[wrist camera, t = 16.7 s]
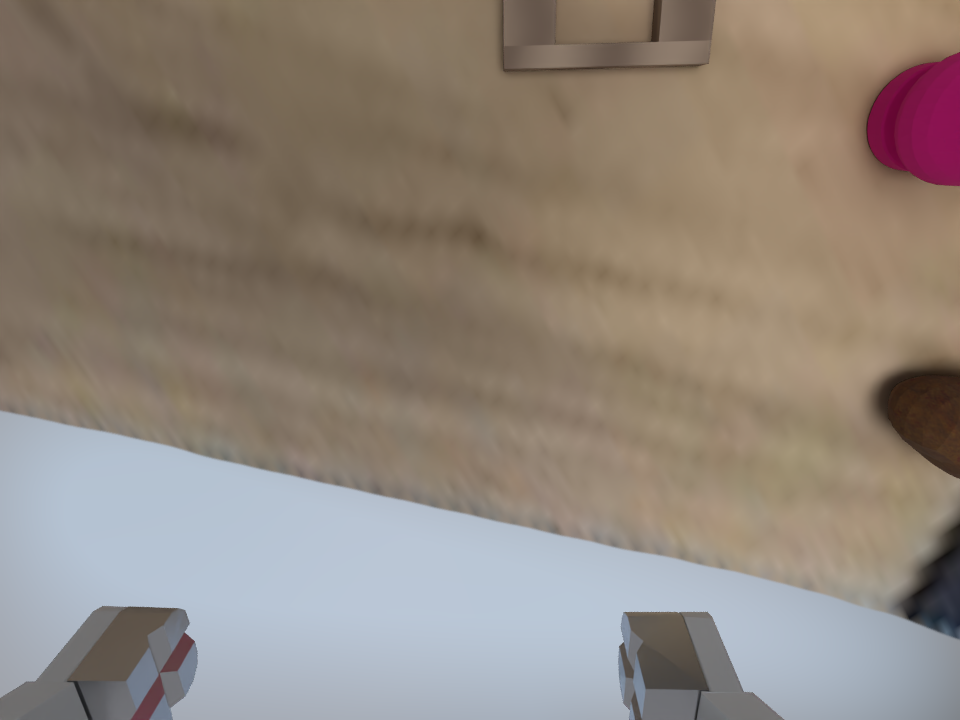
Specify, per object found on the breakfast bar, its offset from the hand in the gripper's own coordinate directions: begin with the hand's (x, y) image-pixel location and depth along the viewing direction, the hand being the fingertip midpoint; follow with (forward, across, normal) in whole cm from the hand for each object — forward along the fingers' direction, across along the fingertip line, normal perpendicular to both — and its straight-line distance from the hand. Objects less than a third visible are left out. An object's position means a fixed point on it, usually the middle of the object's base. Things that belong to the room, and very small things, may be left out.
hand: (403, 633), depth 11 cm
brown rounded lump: (+33, -34, +12) cm, 49 cm away
